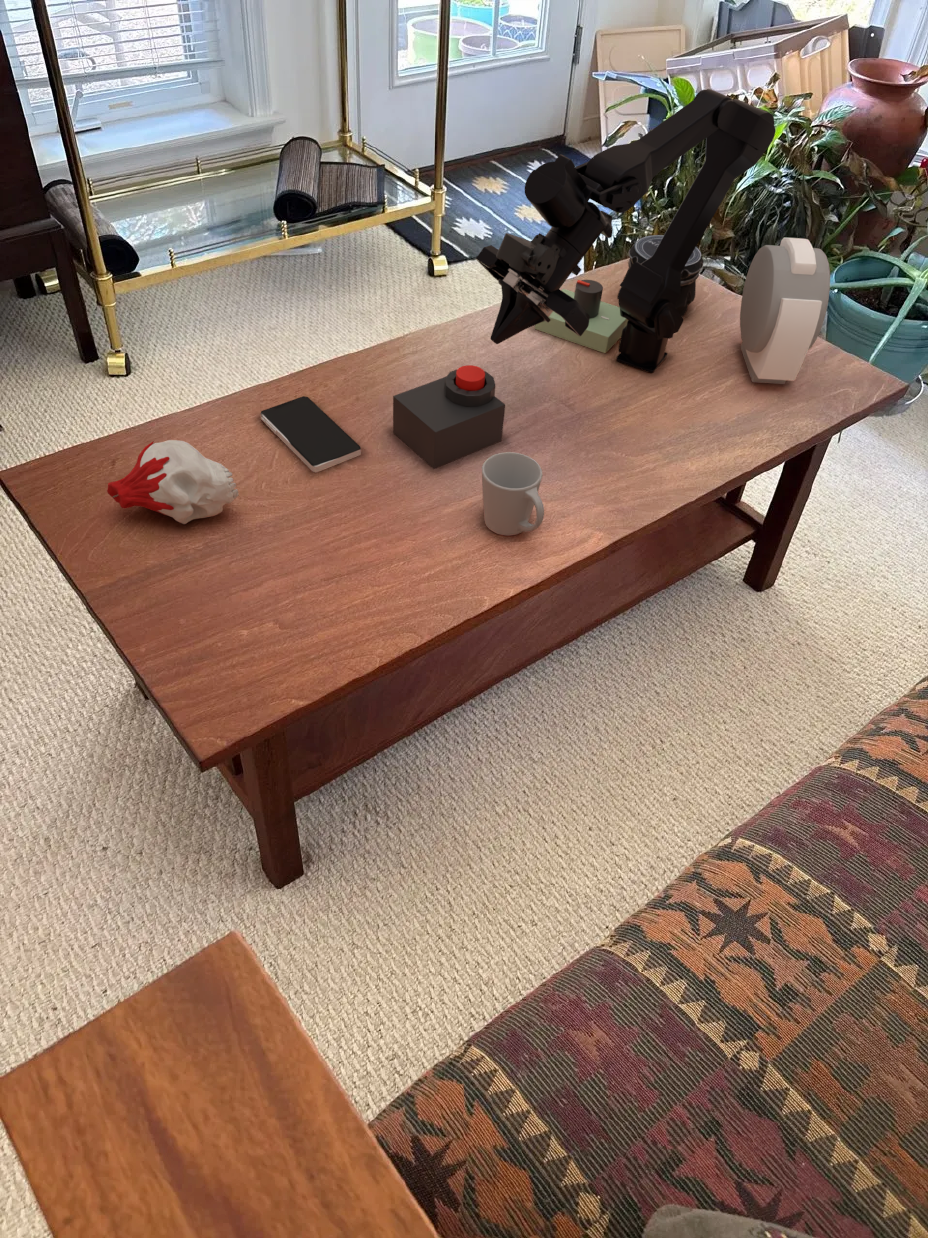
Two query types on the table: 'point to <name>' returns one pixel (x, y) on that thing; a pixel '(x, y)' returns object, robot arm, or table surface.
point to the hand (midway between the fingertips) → (493, 341)
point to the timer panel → (589, 327)
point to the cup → (511, 493)
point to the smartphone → (310, 433)
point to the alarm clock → (783, 308)
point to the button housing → (448, 419)
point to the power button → (470, 378)
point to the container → (689, 274)
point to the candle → (175, 482)
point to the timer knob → (589, 296)
